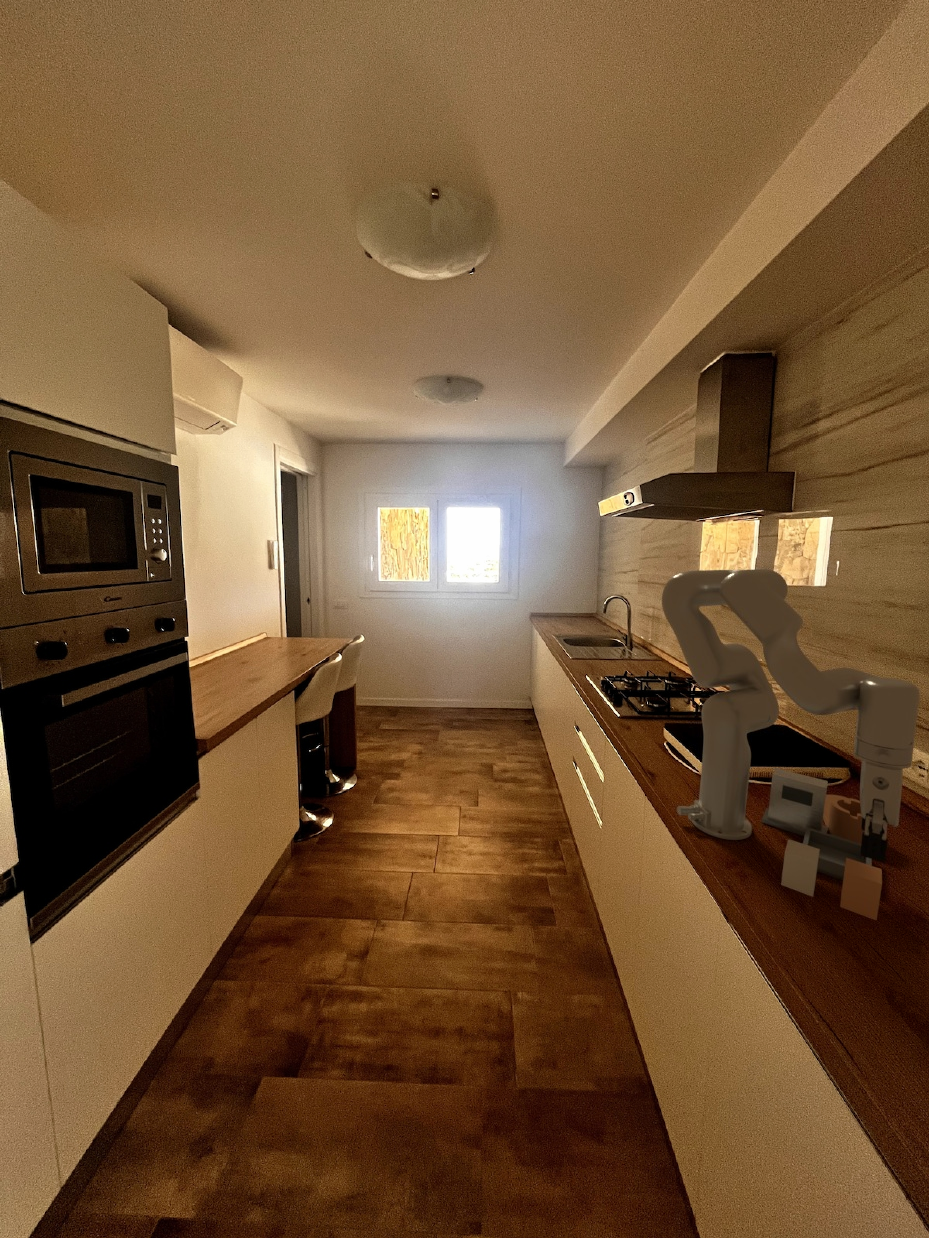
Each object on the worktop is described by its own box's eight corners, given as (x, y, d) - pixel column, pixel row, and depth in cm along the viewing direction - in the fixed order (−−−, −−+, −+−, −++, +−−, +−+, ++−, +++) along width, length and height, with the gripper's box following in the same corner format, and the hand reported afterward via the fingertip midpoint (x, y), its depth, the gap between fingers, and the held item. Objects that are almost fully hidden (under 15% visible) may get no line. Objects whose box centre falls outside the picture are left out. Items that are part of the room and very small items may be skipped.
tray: (799, 865, 99) (800, 851, 99) (805, 839, 107) (806, 827, 107) (869, 889, 92) (871, 875, 92) (869, 860, 101) (871, 847, 100)
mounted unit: (761, 822, 114) (766, 774, 112) (765, 811, 118) (771, 765, 117) (825, 842, 106) (832, 791, 104) (827, 830, 111) (833, 780, 109)
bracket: (878, 850, 104) (882, 820, 103) (830, 839, 108) (833, 810, 107) (858, 810, 120) (862, 783, 119) (817, 801, 124) (820, 776, 122)
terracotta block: (840, 906, 88) (845, 871, 87) (841, 891, 92) (846, 857, 91) (876, 920, 85) (882, 884, 84) (876, 904, 89) (881, 869, 87)
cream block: (781, 884, 93) (785, 851, 92) (784, 871, 97) (788, 839, 96) (813, 896, 90) (817, 862, 89) (815, 882, 94) (819, 849, 93)
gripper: (916, 775, 74) (903, 879, 77) (909, 741, 88) (899, 830, 90) (853, 762, 79) (843, 860, 81) (855, 731, 92) (847, 816, 95)
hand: (872, 844), depth 86 cm, fingers open, 9 cm apart
